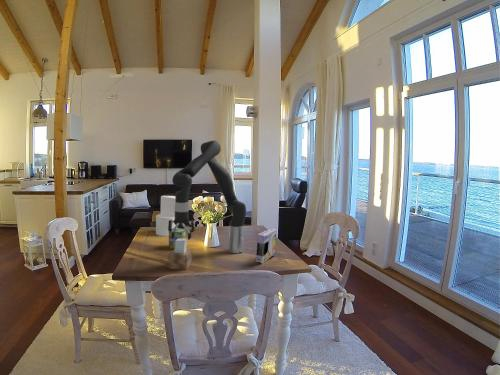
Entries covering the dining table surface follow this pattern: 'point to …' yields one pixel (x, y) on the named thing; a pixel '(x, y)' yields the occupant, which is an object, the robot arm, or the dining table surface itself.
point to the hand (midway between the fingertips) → (181, 239)
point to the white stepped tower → (165, 215)
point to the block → (180, 245)
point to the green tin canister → (176, 237)
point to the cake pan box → (266, 245)
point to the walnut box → (180, 260)
